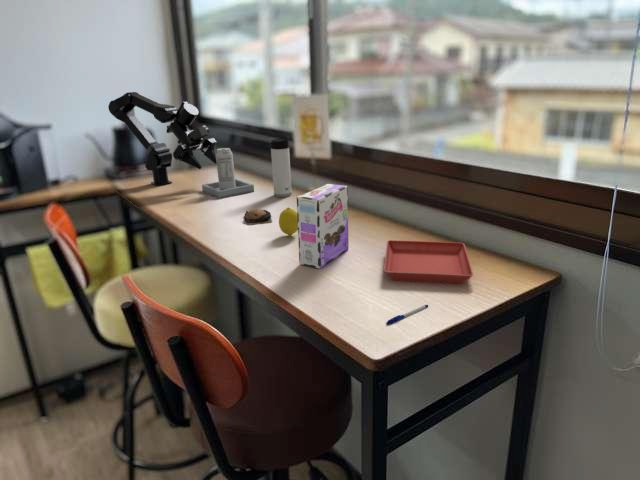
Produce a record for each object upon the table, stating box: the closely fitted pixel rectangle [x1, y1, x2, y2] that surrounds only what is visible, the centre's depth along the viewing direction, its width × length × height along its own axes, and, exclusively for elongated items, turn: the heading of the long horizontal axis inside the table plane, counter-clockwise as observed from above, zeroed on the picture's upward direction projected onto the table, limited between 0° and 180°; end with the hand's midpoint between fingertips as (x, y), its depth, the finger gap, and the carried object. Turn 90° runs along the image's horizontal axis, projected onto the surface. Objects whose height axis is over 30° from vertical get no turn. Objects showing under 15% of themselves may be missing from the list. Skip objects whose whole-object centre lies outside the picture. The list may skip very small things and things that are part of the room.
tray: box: [201, 178, 255, 200], centre depth 176 cm, size 14×14×2 cm
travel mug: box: [270, 137, 293, 198], centre depth 166 cm, size 6×7×20 cm
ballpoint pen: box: [385, 304, 429, 326], centre depth 87 cm, size 10×1×1 cm, turn 128°
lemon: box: [278, 206, 298, 237], centre depth 128 cm, size 6×6×8 cm
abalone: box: [243, 208, 273, 226], centre depth 144 cm, size 11×8×4 cm
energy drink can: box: [215, 147, 236, 190], centre depth 174 cm, size 6×6×15 cm
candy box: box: [296, 183, 350, 269], centre depth 111 cm, size 14×6×16 cm, turn 148°
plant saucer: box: [383, 239, 474, 284], centre depth 106 cm, size 18×18×3 cm
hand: (209, 165), depth 177 cm, fingers open, 9 cm apart
